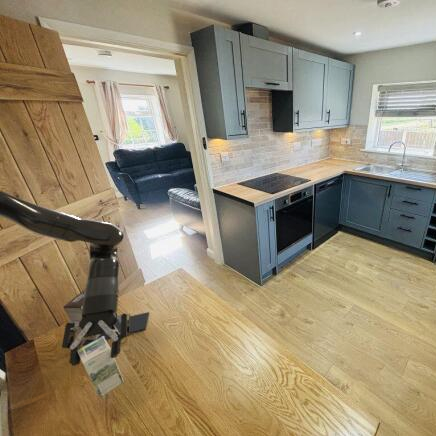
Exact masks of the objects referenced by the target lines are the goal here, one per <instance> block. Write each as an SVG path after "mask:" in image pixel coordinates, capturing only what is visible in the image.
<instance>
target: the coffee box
mask: <svg viewBox="0 0 436 436" xmlns="http://www.w3.org/2000/svg"><path fill="white" fill-rule="evenodd" d="M84 291H85V289H83V290H82V291H81V292H79V293H78V294H77V295H76V296H75V297H73V298H72V299H71V300H70V301H68V302H67V303H66V304H65V305H64V306H63V310H64V312H65V313H66V315H67V317H68V319H69V321H70V322H80V321H81V319H82V308H83V300H84ZM81 331H82V329H81V328H80V326H79V327H78V329H77V330H76V333H75V334H77V336H78V335H79V334H80V332H81ZM100 335H101V334H100ZM100 335H95V336H90V337H89V338H88V339H87V340H96V339H97V338H98V337H99V336H100Z"/></svg>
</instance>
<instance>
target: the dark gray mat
mask: <svg viewBox="0 0 436 436" xmlns="http://www.w3.org/2000/svg"><path fill="white" fill-rule="evenodd" d="M149 315H150V311H147V312H144V313H138V314H133V315H130V334H135V333H138V332H143V331H146V329H147V325H148V320H149ZM114 326H115V327H116V329H117V330H118V332H119V333H120V334H121V323H120V322H119V320H117V322H116V323H115V324H114ZM102 336H104V338H105V340H106V341H107V340H109V339H112V338H111V337H110V336H108V335H107V334H101V335H100V336H99V337H98V338H97V339H99V338H101V337H102ZM97 339H96V340H97ZM93 341H95V340H86V341H85V342H84V343H83V344H82V346H86V345H88V344H90V343H91V342H93Z"/></svg>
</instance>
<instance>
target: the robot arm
mask: <svg viewBox="0 0 436 436" xmlns="http://www.w3.org/2000/svg"><path fill="white" fill-rule="evenodd" d="M0 217H1V218H4V219H6V220H7V221H9V222H12V223H13V224H15V225H18V226H19V227H22V228H23V229H25V230H27V231H29V232H32V233H34V234H37V235H40V236H42V237H48V238H51V239H55V240H59V241H63V242H69V243H74V242H84V243H89V253H88V254H89V264H88V268H87V278H86V283H85V286H84V290H85V291H84V300H83V308H82V319H81V321H80V322H71V321H70V322H67V323H65V328H64V333H63V338H62V343H61V348H62V349H69V350H70V355H69V364H70V365H71V367H74V366H78V365H80V364H81V358H80V356H79V354H78V351H77V350H78V349H80V348H82V347H83V345H82V344H83V343H84V342H85V341H86V340H87V339H88V338H89V337H90V336H95V335H100V334H107V335H108V336H110V337H111V338H110V339H111V340H112V342H111V347H110V348H111V358H115V359H116V358H118V355H120V354H121V349H122V348H121V346H122V340H123V339H125V338H126V337H129V336H130V335H131V333H130V316H131V314H130V313H128V312H126V313H125V312H124V313H122V314H118V313H117V312H118V304H119V293H120V283H119V282H120V281H119V276H120V275H119V274H120V261H119V259H118V249H119V246H120V245H121V244H122V243H123V240H124V238H125V237H124V232H123V230H122V229H121V228H120V227H118V226H116V225H115V224H112V223H108V222H104V221H98V220H92V219H83V218H80V217H76V216H74V215H70V214H67V213H64V212H60V211H57V210H55V209H51V208H47V207H45V206H41V205H38V204H35V203H33V202H31V201H28V200H25V199H22V198H19V197H17V196H15V195H12V194H10V193H7V192H5V191H2V190H0ZM117 320H119V322H120V323H121V334H120V333H119V332H118V330H117V329H116V327H115V326H114V324H115V323H116V322H117ZM79 326H80V328H81V329H82V331H81V332H80V334H79V335H77V336H76V334H77V333H76V330H77V329H78V327H79Z"/></svg>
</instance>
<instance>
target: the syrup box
mask: <svg viewBox="0 0 436 436" xmlns="http://www.w3.org/2000/svg"><path fill="white" fill-rule="evenodd" d="M111 348H112V347H110V345H109V343H108V341H107V339H106V340H105V338H104V336H102V337H101V338H99V339H97V340H95V341H93V342H91V343H90V344H86V345H83V346H81V347H80V349H78V350H77V351H78V354H79V356H80V362H81V363H82V366H83V367H84V369H85V371H86V373H87V375H88V377H89V379H90V381H91V383H92V385H93V387H94V390H95V391H96V393H97V395H98V397H99V399H102V398H103V397H105V396H106V395H108V394H110V393H111V392H112V391H113V390H115V389H116V388H117V387H119V386H121V385H122V384H124V382H125V381H124V378H123V376H122V373H121V371H120V368H119V366H118V363H117V360H116V357H115V358H111Z"/></svg>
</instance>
